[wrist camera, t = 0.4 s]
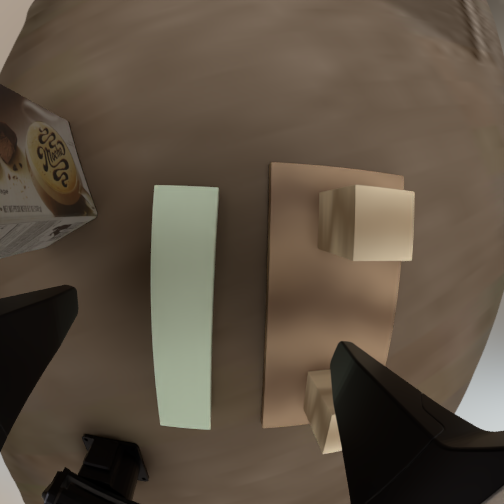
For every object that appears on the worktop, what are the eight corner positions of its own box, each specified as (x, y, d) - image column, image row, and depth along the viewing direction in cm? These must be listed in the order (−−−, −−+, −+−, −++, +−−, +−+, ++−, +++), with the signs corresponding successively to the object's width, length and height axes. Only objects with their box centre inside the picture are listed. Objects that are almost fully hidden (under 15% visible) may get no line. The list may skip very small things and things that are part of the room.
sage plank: (211, 404, 23) (210, 429, 19) (167, 401, 22) (160, 425, 19) (219, 192, 21) (218, 187, 17) (165, 189, 20) (154, 185, 17)
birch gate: (369, 406, 24) (401, 448, 17) (261, 421, 23) (272, 475, 16) (397, 177, 21) (452, 167, 15) (269, 164, 20) (290, 140, 13)
